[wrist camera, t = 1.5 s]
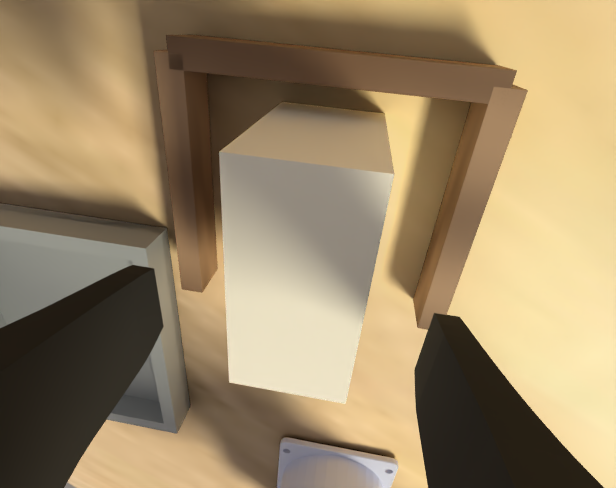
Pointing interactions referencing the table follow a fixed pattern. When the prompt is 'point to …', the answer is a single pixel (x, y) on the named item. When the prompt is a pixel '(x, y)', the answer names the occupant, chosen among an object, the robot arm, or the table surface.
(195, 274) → the walnut dock
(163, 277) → the grey tray
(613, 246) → the table surface
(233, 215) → the beige rectangular block
